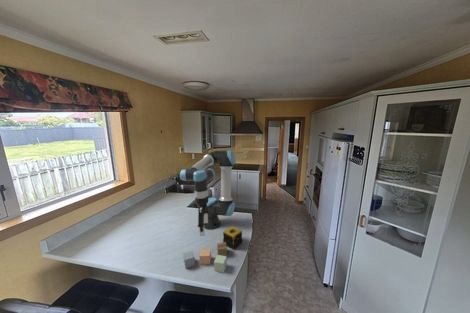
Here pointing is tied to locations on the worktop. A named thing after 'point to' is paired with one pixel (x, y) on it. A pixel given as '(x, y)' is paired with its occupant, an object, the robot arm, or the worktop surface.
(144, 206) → the worktop surface
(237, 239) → the candle
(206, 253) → the terracotta cube
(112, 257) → the worktop surface
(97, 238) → the worktop surface
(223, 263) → the sage cube
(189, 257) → the slate cube
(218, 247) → the walnut cube
